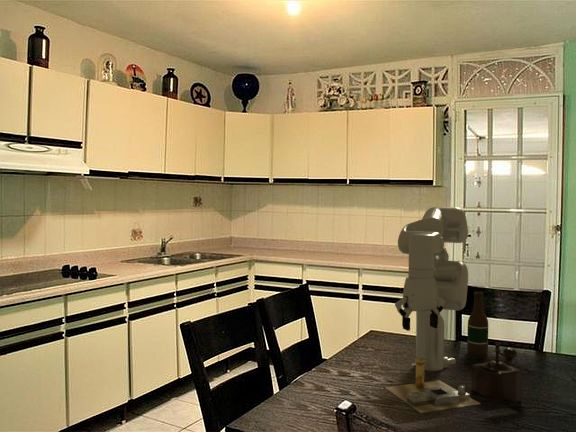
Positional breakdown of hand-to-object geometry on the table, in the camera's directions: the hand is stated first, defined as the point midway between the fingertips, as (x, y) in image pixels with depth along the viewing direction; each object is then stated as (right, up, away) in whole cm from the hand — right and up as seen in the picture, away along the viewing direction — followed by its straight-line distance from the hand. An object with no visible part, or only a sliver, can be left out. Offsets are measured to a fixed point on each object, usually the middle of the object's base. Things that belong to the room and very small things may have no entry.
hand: (420, 328), depth 161 cm
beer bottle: (+33, -19, +43) cm, 57 cm away
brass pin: (0, -19, +1) cm, 19 cm away
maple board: (+2, -20, -5) cm, 21 cm away
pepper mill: (+23, -21, -5) cm, 32 cm away
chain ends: (+3, -19, -9) cm, 21 cm away
